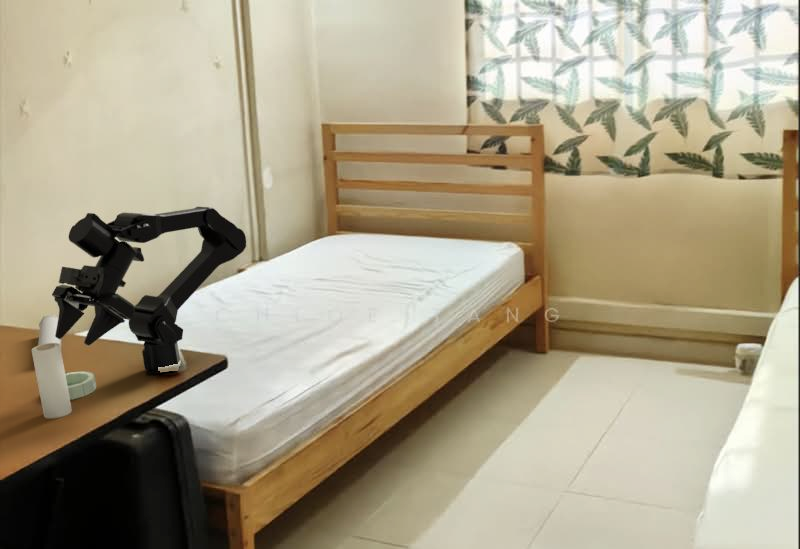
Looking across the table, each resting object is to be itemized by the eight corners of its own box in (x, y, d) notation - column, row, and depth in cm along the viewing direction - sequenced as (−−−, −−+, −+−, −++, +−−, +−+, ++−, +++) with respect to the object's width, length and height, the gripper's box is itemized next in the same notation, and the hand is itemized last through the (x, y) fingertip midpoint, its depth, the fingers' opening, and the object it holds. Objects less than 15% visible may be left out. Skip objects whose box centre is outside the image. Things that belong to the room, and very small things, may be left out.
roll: (74, 406, 187) (62, 341, 184) (68, 416, 182) (55, 349, 179) (47, 409, 187) (35, 343, 183) (40, 419, 182) (27, 352, 178)
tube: (64, 347, 212) (64, 316, 235) (38, 344, 210) (40, 313, 233) (60, 370, 212) (60, 337, 235) (33, 367, 211) (37, 334, 234)
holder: (99, 381, 200) (97, 369, 199) (90, 397, 191) (87, 385, 190) (54, 386, 199) (52, 374, 198) (42, 402, 190) (40, 390, 190)
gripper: (51, 244, 191) (11, 315, 185) (111, 252, 179) (69, 327, 174) (92, 273, 199) (55, 342, 193) (152, 282, 187) (113, 355, 182)
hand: (71, 341), depth 185 cm, fingers open, 9 cm apart
